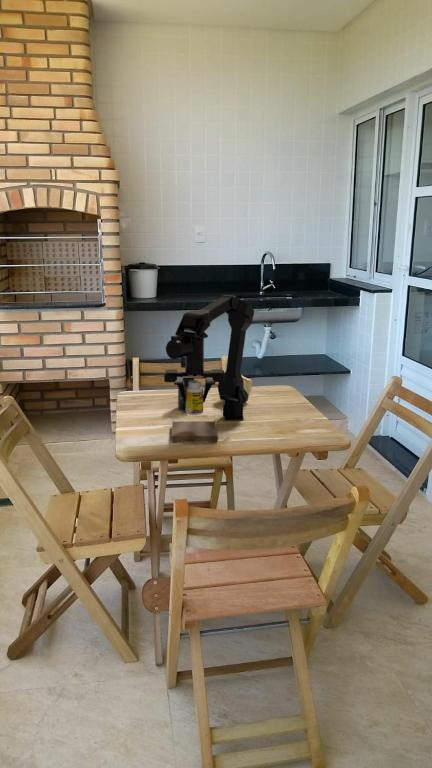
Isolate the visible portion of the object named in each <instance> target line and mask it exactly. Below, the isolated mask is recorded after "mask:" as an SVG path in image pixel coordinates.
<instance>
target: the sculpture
mask: <svg viewBox="0 0 432 768" xmlns="http://www.w3.org/2000/svg"><path fill="white" fill-rule="evenodd" d="M241 376H242V378H243V381H244V389H245V391H246V392H247V393H248V395H249V396H250V394H251V392H252V389H253V386H252V385H253V381H252V380H251V379H250V378H247V377H245V376H243V375H242V374H241ZM249 396H248V398H249ZM222 401H223V403H225V400H222Z"/></svg>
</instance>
